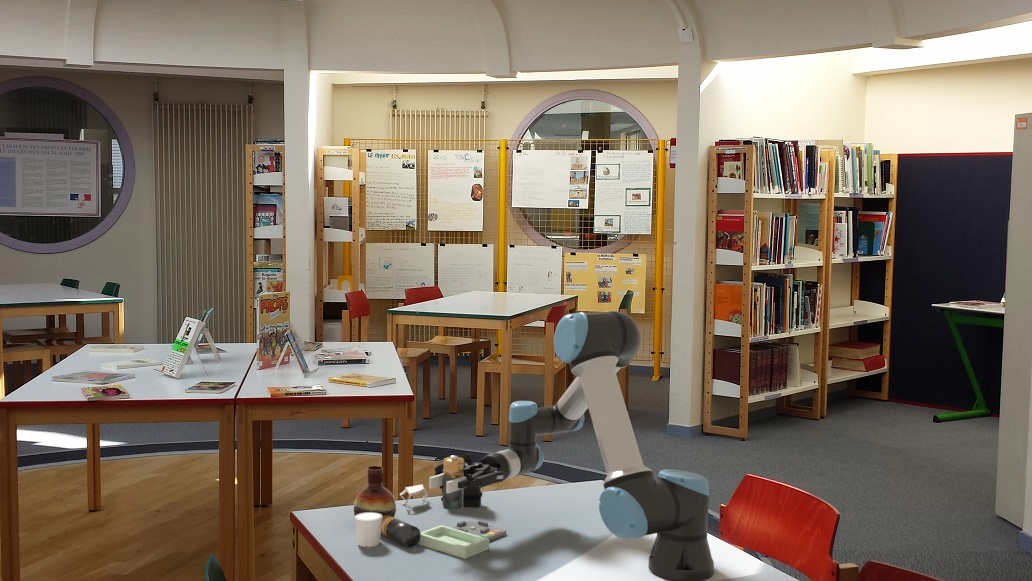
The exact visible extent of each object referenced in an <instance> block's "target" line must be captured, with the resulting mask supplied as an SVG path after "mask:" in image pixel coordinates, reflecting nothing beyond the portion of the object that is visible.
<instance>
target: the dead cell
mask: <svg viewBox="0 0 1032 581" xmlns="http://www.w3.org/2000/svg"><path fill="white" fill-rule="evenodd" d="M420 532H421V530H420V529H419V528H418V527H417V526H415V525H412V524H410V523H407V522H406V521H403V520H400V519H398V518H396V517H395V516H394V517H392V516H389V515H385V516H383V517H382V527H381V536H384V537H386V538H389V539H391V540H393V541H396V542H397V543H400V544H402V545H404V546H406V547H408V548H413V547H415V546H416V545H418V544H417V543H418V542H419V540H420V535H421V533H420Z"/></svg>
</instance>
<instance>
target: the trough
mask: <svg viewBox="0 0 1032 581" xmlns="http://www.w3.org/2000/svg"><path fill="white" fill-rule="evenodd" d="M420 533H421V535H420V540H419V542H418V543H417V544H416V545H419V544H420V546H422V545H423V546H424V547H426V548H428V549H429V548H430V549H433V550H435V551H439V552H442V553H444V554H448V555H451V556H455V557H457V558H461V559H464V560H466V559H468V558H470V557H474V556H476V555H478V554H481V553H482V552H486V551H487V550H490V541H489V539H488V538H485V537H481V536H478V535H475V534H471V533H468V532H464V531H461V530H457V529H454V528H453V527H450V526H446V525H443V524H441V525H438V526H435V527H432V528H430V529H426V530H423V531H420Z"/></svg>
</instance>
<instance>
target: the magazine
mask: <svg viewBox="0 0 1032 581" xmlns="http://www.w3.org/2000/svg"><path fill="white" fill-rule="evenodd" d="M459 457H460V458H463V459H464V462H467V464H468V465H474V464H475V461H474V460H473V459H474V455H471V453H470V452H468V453H465V454H463V455H460V456H459ZM442 469H444V463H442V464H439V465H437V466H435V467H434V469H433V470H434V471H435V473H434V476H436V475H439V474H441V471H442ZM466 480H467V478H466ZM479 484H480V483H479ZM439 490H441V494H442V496H441V497H440V501H441V502H443V485H442V486H439ZM482 497H483V491H481V488H478V489H476V488H475V486H473V487H472V488H468V487H466V488H464V489H463V508H479V509H480V508H481V505H482Z"/></svg>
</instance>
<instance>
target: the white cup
mask: <svg viewBox="0 0 1032 581" xmlns="http://www.w3.org/2000/svg"><path fill="white" fill-rule="evenodd" d="M382 517H383V516H382V515H381V514H380V513H375V512H365V513H360V514H357V515H356V516H355V515H354V522H355V535H356V544H358V545H357V546H359V545H361V546H374V547H377V546H379V545H380V544H381V536H382V534H381V527H382ZM379 543H380V544H379ZM378 544H379V545H378ZM376 545H377V546H376ZM361 546H360V547H361Z"/></svg>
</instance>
